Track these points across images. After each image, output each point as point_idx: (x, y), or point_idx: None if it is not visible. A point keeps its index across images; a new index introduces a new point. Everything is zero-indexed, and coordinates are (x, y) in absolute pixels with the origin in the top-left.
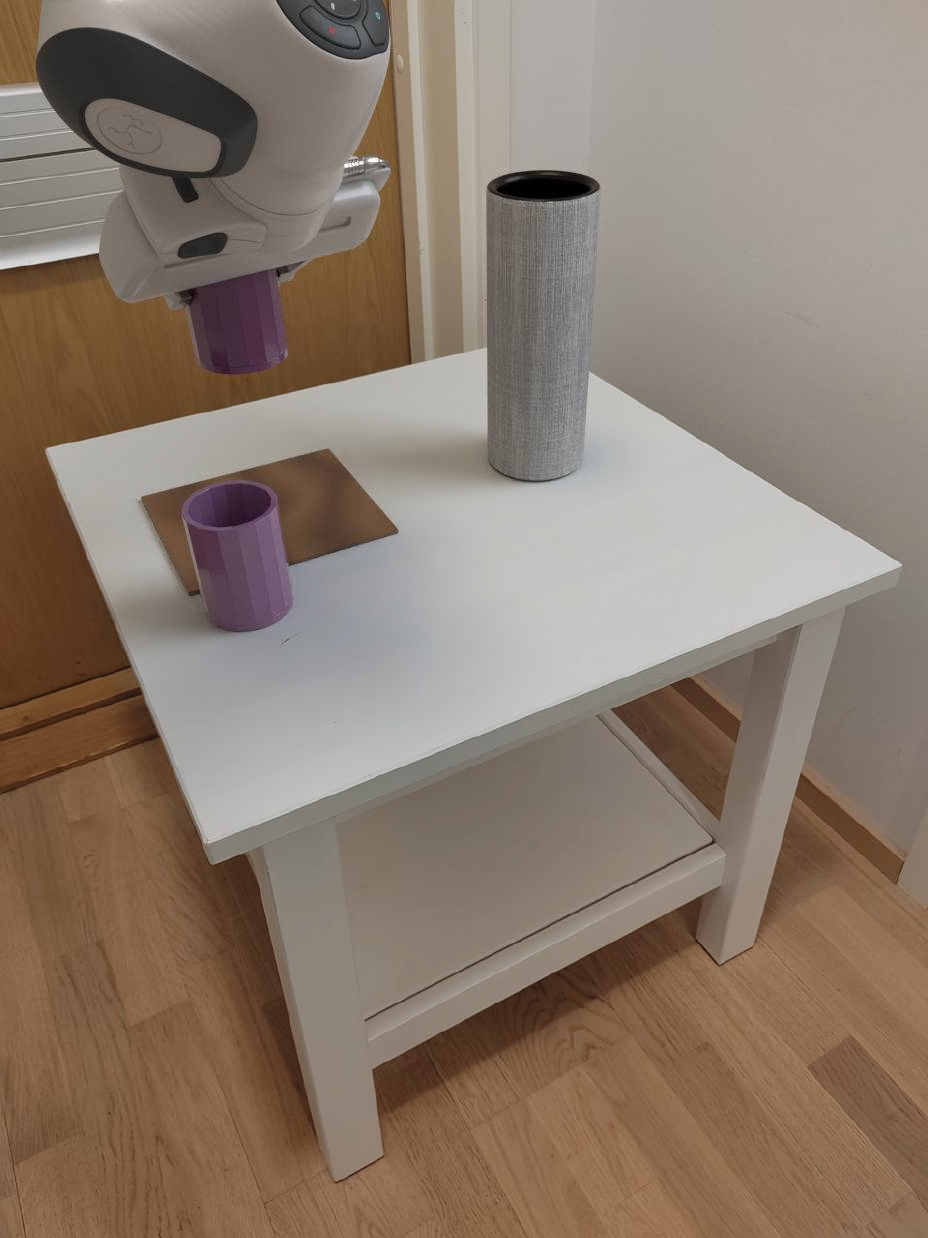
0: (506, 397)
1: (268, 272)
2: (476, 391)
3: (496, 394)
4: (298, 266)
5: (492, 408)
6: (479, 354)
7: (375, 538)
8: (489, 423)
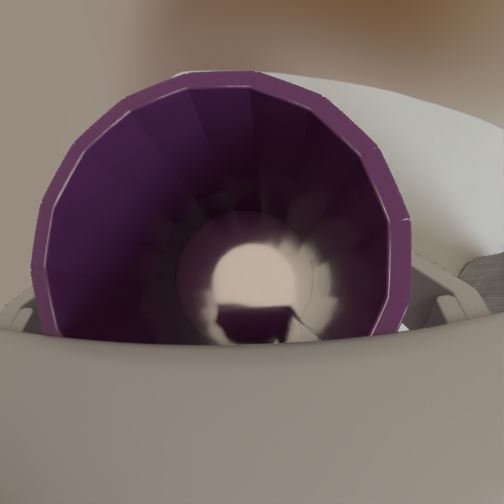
0: (498, 312)
1: None
2: (486, 175)
3: (496, 298)
4: (405, 323)
5: (486, 291)
6: (499, 131)
7: None
8: (476, 284)
